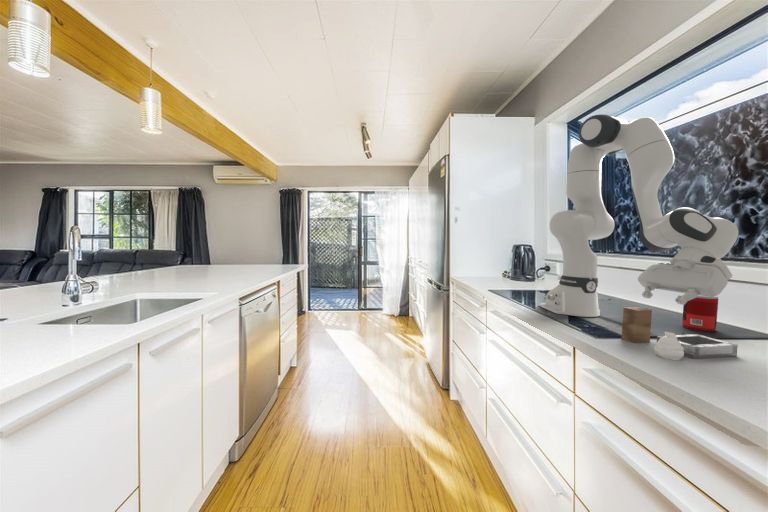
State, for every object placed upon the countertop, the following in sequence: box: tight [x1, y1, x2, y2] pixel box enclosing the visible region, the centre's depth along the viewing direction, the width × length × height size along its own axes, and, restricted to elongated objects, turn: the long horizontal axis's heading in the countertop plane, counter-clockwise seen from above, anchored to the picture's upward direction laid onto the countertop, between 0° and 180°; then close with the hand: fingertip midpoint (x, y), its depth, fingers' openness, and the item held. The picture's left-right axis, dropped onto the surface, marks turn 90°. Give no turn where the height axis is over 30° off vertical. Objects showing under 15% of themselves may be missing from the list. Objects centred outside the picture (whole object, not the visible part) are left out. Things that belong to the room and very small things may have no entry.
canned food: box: [681, 293, 719, 332], centre depth 106 cm, size 8×8×11 cm
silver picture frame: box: [656, 333, 739, 360], centre depth 84 cm, size 9×13×3 cm
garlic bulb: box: [653, 331, 685, 361], centre depth 80 cm, size 6×6×5 cm
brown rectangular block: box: [621, 306, 653, 344], centre depth 92 cm, size 4×5×9 cm
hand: (661, 299), depth 93 cm, fingers open, 8 cm apart
